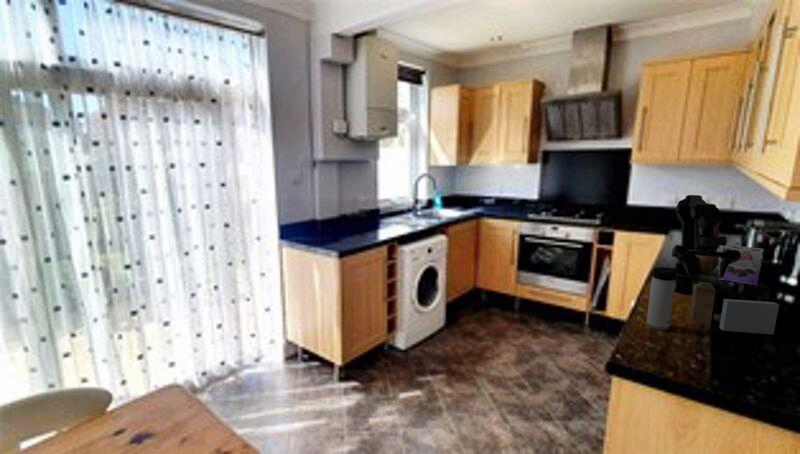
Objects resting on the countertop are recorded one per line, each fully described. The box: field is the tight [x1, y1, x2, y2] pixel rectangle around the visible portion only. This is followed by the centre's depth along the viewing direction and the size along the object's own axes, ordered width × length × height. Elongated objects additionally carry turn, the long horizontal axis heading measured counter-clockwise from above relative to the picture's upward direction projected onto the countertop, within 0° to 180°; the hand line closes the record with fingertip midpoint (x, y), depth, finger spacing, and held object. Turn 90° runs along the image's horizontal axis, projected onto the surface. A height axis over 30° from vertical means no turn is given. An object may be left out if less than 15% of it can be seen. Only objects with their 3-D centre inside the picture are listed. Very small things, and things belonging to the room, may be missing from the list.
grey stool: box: [713, 298, 780, 336], centre depth 127 cm, size 10×14×10 cm
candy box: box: [717, 243, 765, 287], centre depth 174 cm, size 14×6×16 cm, turn 47°
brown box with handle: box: [689, 281, 716, 325], centre depth 132 cm, size 5×5×13 cm
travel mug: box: [646, 266, 678, 331], centre depth 125 cm, size 6×7×20 cm
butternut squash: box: [696, 226, 720, 274], centre depth 188 cm, size 14×13×25 cm
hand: (705, 276), depth 135 cm, fingers open, 9 cm apart
